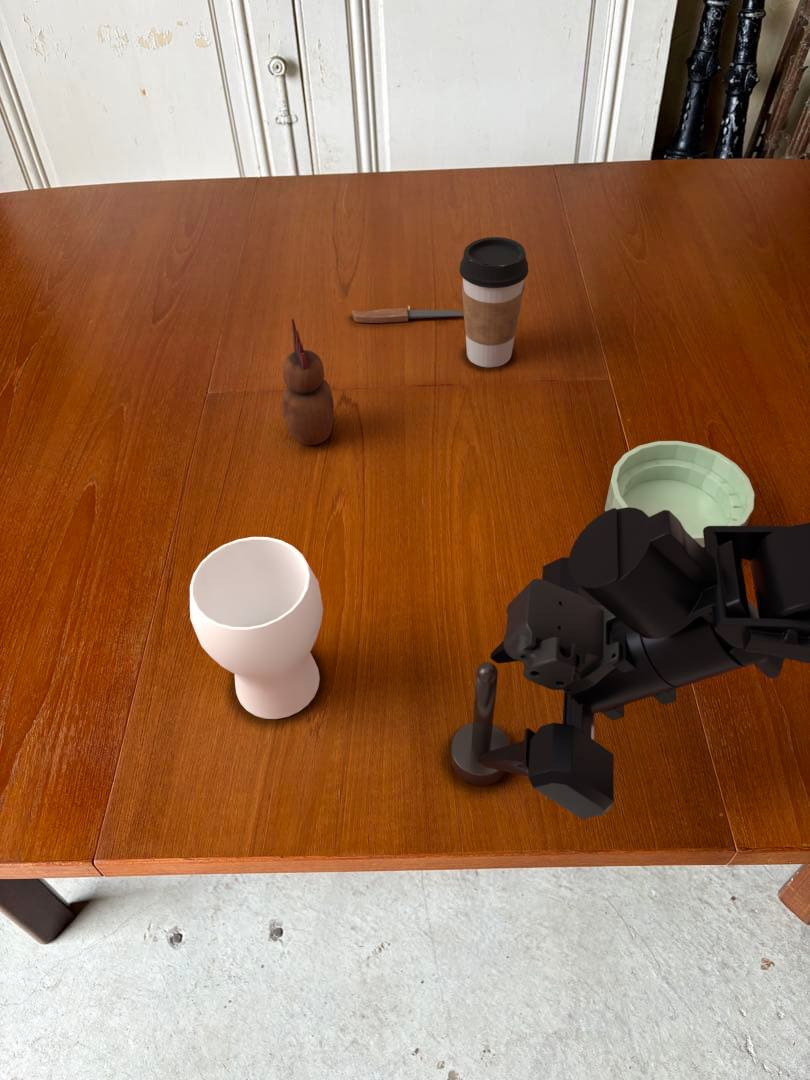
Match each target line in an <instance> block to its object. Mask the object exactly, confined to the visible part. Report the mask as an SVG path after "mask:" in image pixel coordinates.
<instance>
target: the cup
mask: <svg viewBox="0 0 810 1080" xmlns="http://www.w3.org/2000/svg"><path fill="white" fill-rule="evenodd" d="M322 600H323V599H322V593H321V588H320V583H319V580H318V579H317V577H316V575H315V573H314V572H313V569H312V568H311V567H310V564H309V563H308V561H307V560H306V558H305V556H304V555H303V554H302V552H301V551H299V550H298V549H297V548H296V547H295V546H293V545H291V544H290V543H287V542H285V541H283V540H282V539H277V538H273V537H269V536H250V537H245V538H238V539H235V540H233V541H230V542H228V543H225V544H222V545H221V546H219V547H218V548H216V549H215V550H213V551H211V552H210V553H209V554H208V555H207V556H206V557H205V558H204V559H203V560H202V561H200V563H199V565H198V566H197V567H196V570H195V571H194V572H193V574H192V578H191V581H190V584H189V616H190V622H191V625H192V627H193V630H194V632H195V635H196V637H197V639H198V642H199V644H200V646H201V648H202V649H203V650H204V651H205V652H206V653H207V654H208V655H209V657H211V659H212V660H214V661H215V662H216V663H217V664H218V665H219V666H220V667H221V668H223V669H225V670H226V671H228V672H230V673H232V674H233V675H234V685H235V695H236V696H237V699H238V701H239V703H240V705H241V706H242V707H243V708H244V709H245V710H246V711H247V712H248V713H250V714H252V715H253V716H255V717H258V718H262V719H265V720H266V719H267V720H278V719H283V718H288V717H291V716H293V715H295V714H297V713H299V712H301V711H302V710H303V709H304V708H306V707H307V706H309V704H310V703H311V702H312V701H313V700H314V698H315V696H316V694H317V692H318V689H319V686H320V680H321V678H320V677H321V676H320V672H319V668H318V666H317V663H316V661H315V659H314V657H313V654H312V653H311V651H312V649H313V647H314V645H315V643H316V641H317V639H318V636H319V633H320V629H321V625H322V622H323V614H324V606H323V605H324V604H323V601H322Z"/></svg>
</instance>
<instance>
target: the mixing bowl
mask: <svg viewBox="0 0 810 1080" xmlns="http://www.w3.org/2000/svg"><path fill="white" fill-rule="evenodd" d="M626 507H630V508H637V509H640V510H642V511H643V512H644V513H645V514H647V515H648V516H649V517H650V516H652V515H654V514H656V513H659V512H661V511H663V510H669V511H670V512H671V513H672V514H673V515H674V516H675V517H676V518H677V519H678V520H679V521H680V522H681V524H682V526H683V528H684V529H685V531H686V532H687V533H688V534H689V535H690V536H691V537H692V538H693V539H694V540H695V541H696V542H697V543H698V544H700V545H701V546H702V547H705V544H704V536H703V529H704V528H705V527H707V526H748V524H749V521H750V518H751V516H752V513H753V512H754V508H755V491H754V488H753V486H752V483H751V481H750V479H749V477H748V476H747V474H746V473H745V472H744V471H743V470H742V469H741V468H740V466H739V465H738V464H737V463H736V462H734V461H732V460H731V459H730V458H728V457H726V456H725V455H723V453H721V452H718V451H716V450H714V449H712V448H709V447H706V446H704V445H701V444H698V443H692V442H687V441H681V440H658V441H653V442H648V443H644V444H641V445H637V446H636V447H634V448H633V449H632V448H631V450H629V451H627V452H625V453H624V454H623V455H622V456H621V457H620V459H619V460H618V461H617V462H616V464H615V465H614V466H613V470H612V474H611V479H610V483H609V487H608V492H607V496H606V501H605V506H604V512H606V511H608V510H610V509H612V508H616V509H621V508H626Z"/></svg>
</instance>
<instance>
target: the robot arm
mask: <svg viewBox="0 0 810 1080" xmlns="http://www.w3.org/2000/svg"><path fill="white" fill-rule="evenodd" d="M703 536H704V544H705V547H702V546H701V545H700V544H698V543H697V542H696V541H695V540H694V539H693V538H692V537H691V536H690V535H689V534H688V533H687V532H686V531H685V529H684V528H683V526H682V524H681V522H680V521H679V520H678V519H677V518H676V517H675V516H674V515H673V514H672V513H671V512H670V511H669V510H663V511H661V512H659V513H656V514H654V515H652V516H650V517H649V516H648V515H647V514H645V513H644V512H643V511H642V510H640V509H637V508H630V507H626V508H621V509H616V508H612V509H610V510H608V511H606V512H605V511H604V512H602V513H601V514H599V515H598V516H596V517H595V518H594V519H593V520H592V521H590V522H589V523H588V524H587V525H586V526H585V527H584V528H583V530H582V531H581V532H580V533H579V534H578V536H577V538H576V540H575V541H574V543H573V545H572V547H571V549H570V552H569V556H561V557H560V558H557V559H555V560H553V561H551V562H548V563H547V564H545V565H543V566H542V573H541V574H542V575H541V578H534V579H532V580H531V581H529V583H528V584H527V585H526V586H525V587H524V588H523V589H522V590H520V592H519V593H518V594H517V595H516V596H515V597H514V598H513V599H512V600H511V601H510V602H509V603H508V605H507V608H506V615H507V618H506V627H505V634H504V636H503V640H502V641H501V642H500V643H499V645H497V646H496V647H495V648H494V649H493V650H492V651H491V652H490V654H489V655H490V656H489V658H490V660H492V661H493V662H494V663H496V664H507V663H514V662H521V663H522V665H523V673H522V674H523V677H524V678H525V679H526V680H528V681H529V682H532V683H535V684H537V685H539V686H542V687H544V688H547V689H549V690H551V691H561V690H562V691H563V707H562V709H563V710H562V723H560V722H551V723H547V724H544V725H541V726H539V728H538V729H537V730H536V732H535V731H533V730H532V729H531V728H529V727H527V728H526V729H525V732H524V736H523V740H521V741H518V742H515V743H512V744H511V743H510V745H508V746H505V747H502V748H498V749H495V750H492V751H489V752H487V753H485V754H483V755H481V756H479V758H478V762H479V763H480V764H482V765H483V766H485V767H487V768H491V769H496V770H500V771H505V772H506V773H511V774H515V775H520V776H524V777H527V778H528V779H529V782H530V785H531V787H532V789H534V790H535V791H537V792H538V793H540V794H542V795H543V796H545V797H546V798H548V799H549V800H551V801H553V802H554V803H556V804H557V805H559V806H560V807H562V808H564V809H565V810H567V811H568V812H570V813H572V815H574V816H576V817H578V818H579V819H581V820H586V819H591V818H595V817H600V816H603V815H605V814H606V813H608V812H609V811H610V810H611V809H612V807H613V804H614V800H615V798H614V795H615V792H614V791H615V788H614V787H615V786H614V785H615V784H614V783H615V781H614V778H615V777H614V775H615V774H614V773H615V772H614V770H615V767H614V766H615V763H614V760H615V759H614V753H612V752H611V751H610V750H609V749H607V748H605V747H604V746H603V745H601V744H600V743H599V742H597V741H596V740H595V719H596V718H595V715H596V714H600V713H601V714H602V715H604V716H605V717H606V718H608V719H609V720H611V721H613V722H614V721H616V720H620V719H623V718H625V705H628V704H632V703H635V702H639V701H642V700H644V699H648V698H650V697H651V698H653V699H655V700H656V701H658V702H659V703H660V704H661V705H662V706H666V705H670V704H671V703H675V702H677V701H678V699H677V689H679V688H682V687H685V686H689V685H693V684H695V683H699V682H701V681H704V680H708V679H710V678H714V677H717V676H720V675H723V674H726V673H730V672H733V671H736V670H739V669H742V668H745V667H748V666H752V665H754V666H755V667H756V668H757V669H759V671H760V672H761V673H763V674H764V675H765V676H766V677H767V678H769V679H772V680H773V679H777V678H779V677H780V675H781V672H782V669H783V665H784V662H785V659H786V660H790V661H795V662H798V663H804V664H810V522H805V523H799V524H794V525H746V526H707V527H705V528H704V529H703ZM742 560H746V561H750V571H751V576H752V577H751V578H752V583H753V588H754V595H755V601H756V606H755V605H754V604H752V603H751V602H750V601H749V599H748V593H747V586H746V580H745V574H744V568H743V561H742Z"/></svg>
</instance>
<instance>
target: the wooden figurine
mask: <svg viewBox="0 0 810 1080" xmlns="http://www.w3.org/2000/svg"><path fill="white" fill-rule="evenodd" d="M291 329H292V342H293V343H292V344H293V352H290V353H289V354H288V355H287V356H286V358H285V359H284V361H283V363H282V376H283V382H284V383H285V388H284V391H283V392H282V393H283V395H282V413H283V418H284V422H285V425H286V428H287V430H288V432H289V433H290V435H291V437H292V438H293V439H294V440H295V441H297V442H298V443H300V444H302V445H306V446H316V445H319V444H321V443H323V442H325V441H327V439H328V438H329V437H330V435H331V432H332V430H333V424H334V417H335V416H334V415H335V409H334V408H335V403H334V397H333V392H332V389H331V386H330V385H329V383H328V381H327V380H325V369H324V363H323V362H322V359H321V358H320V356H319V355H318V354H317V353H316V352H314V351H312V350H309V349H304V346H303V343H302V341H301V337H300V334H299V333H300V332H299V330H298V329H297V326H296V323H295V319H294V318H291Z"/></svg>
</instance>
